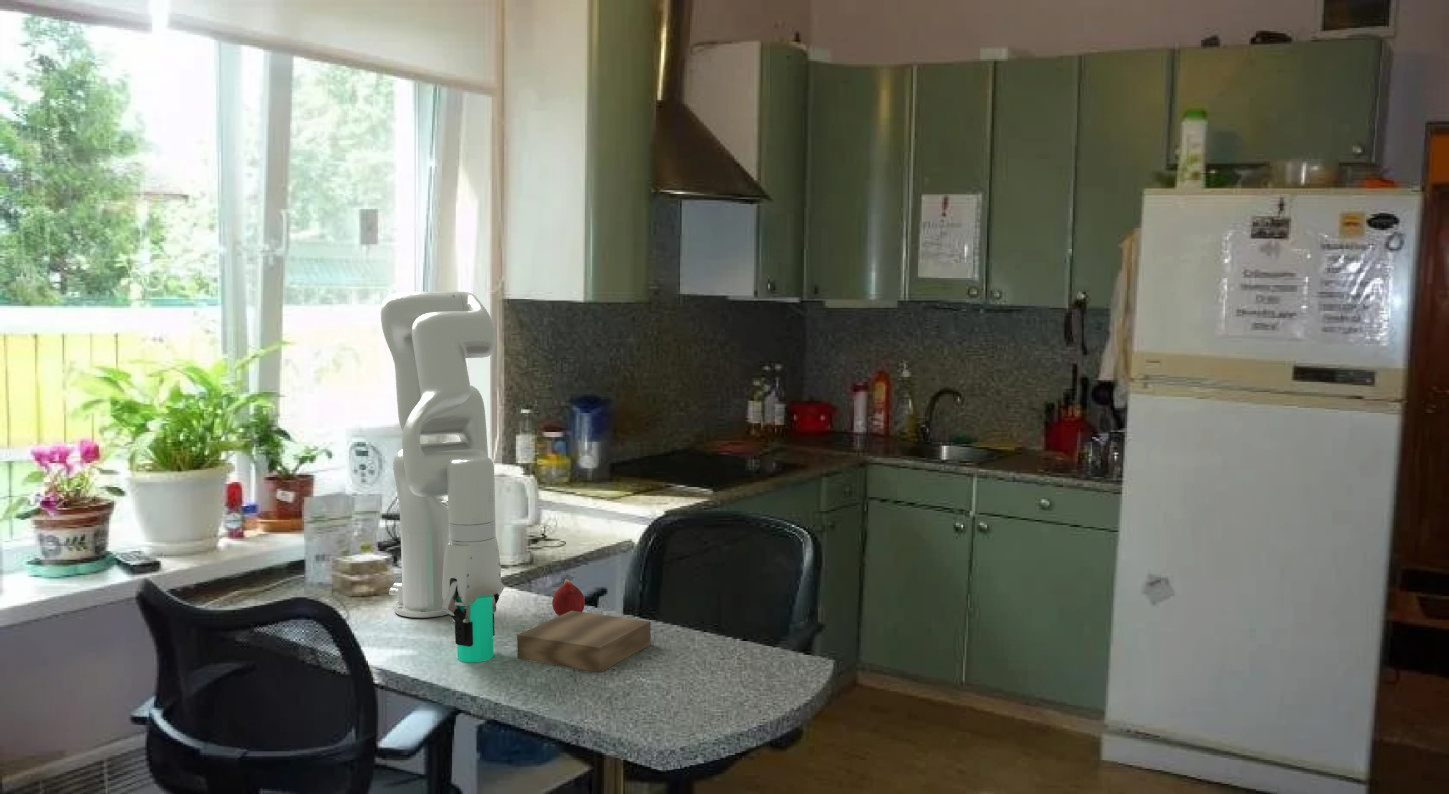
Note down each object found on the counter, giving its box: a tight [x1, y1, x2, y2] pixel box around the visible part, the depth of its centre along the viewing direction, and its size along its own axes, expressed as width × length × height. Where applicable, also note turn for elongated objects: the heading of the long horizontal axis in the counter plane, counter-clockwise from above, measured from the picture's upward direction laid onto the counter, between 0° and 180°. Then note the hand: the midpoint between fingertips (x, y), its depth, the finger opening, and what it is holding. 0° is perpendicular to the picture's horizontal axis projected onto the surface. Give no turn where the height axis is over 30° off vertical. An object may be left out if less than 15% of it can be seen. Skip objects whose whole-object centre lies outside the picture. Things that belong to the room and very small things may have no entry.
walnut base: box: [516, 611, 652, 673], centre depth 194 cm, size 16×16×4 cm
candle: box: [456, 594, 495, 663], centre depth 191 cm, size 6×6×12 cm
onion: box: [551, 578, 586, 617], centre depth 210 cm, size 6×6×8 cm
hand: (475, 639), depth 191 cm, fingers closed on candle, 4 cm apart
